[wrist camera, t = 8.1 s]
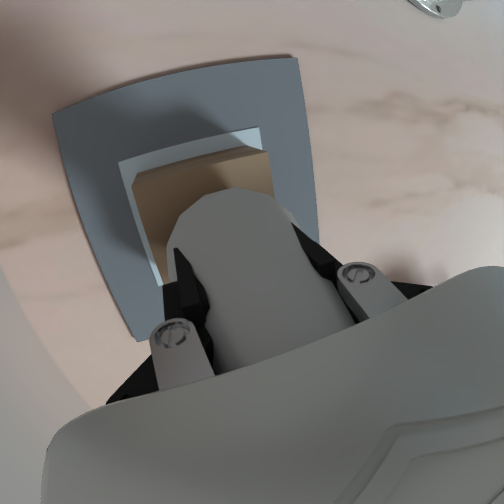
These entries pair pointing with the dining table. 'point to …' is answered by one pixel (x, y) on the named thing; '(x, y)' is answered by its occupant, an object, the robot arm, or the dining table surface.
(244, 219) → the salt shaker
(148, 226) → the base block
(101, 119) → the mat
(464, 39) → the dining table surface
